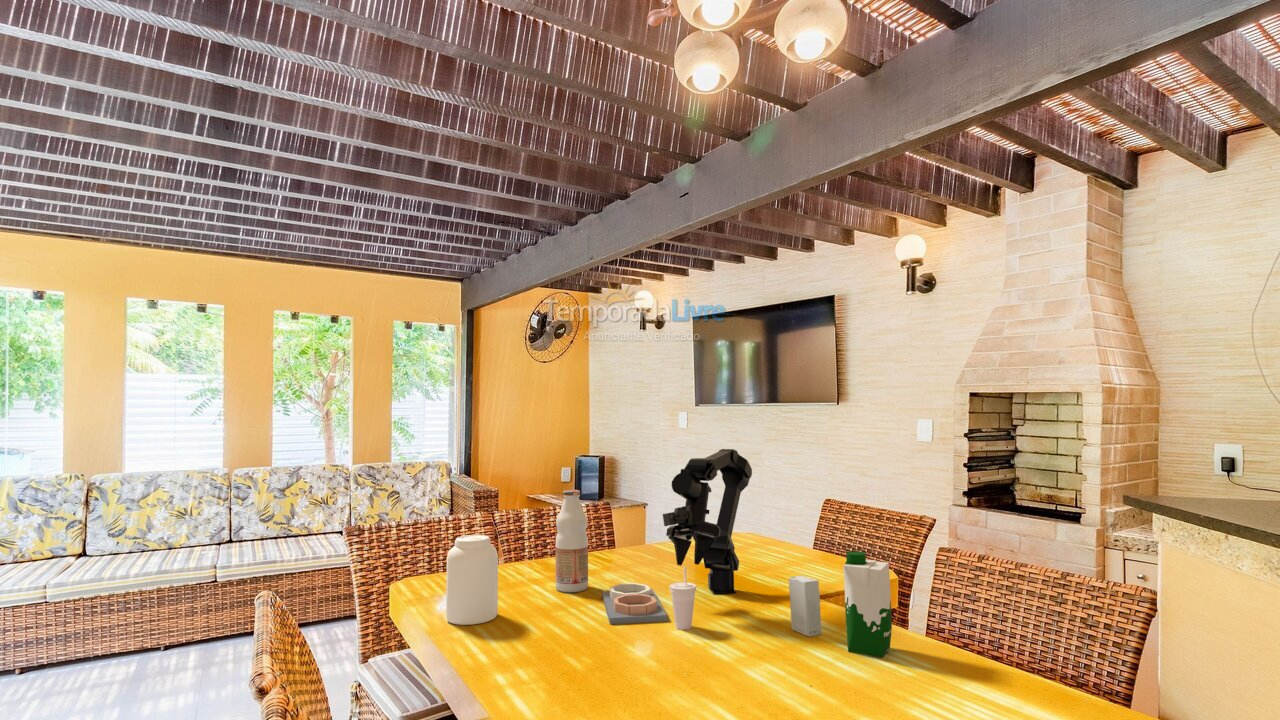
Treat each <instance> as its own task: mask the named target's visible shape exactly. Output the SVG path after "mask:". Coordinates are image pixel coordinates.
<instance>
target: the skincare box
mask: <svg viewBox="0 0 1280 720" xmlns="http://www.w3.org/2000/svg"><path fill="white" fill-rule="evenodd" d="M819 583H820V582H819V580H818V579H815V578H812V577H808V576H804V575H796V576H795V575H794V576H789V577H788V589H789V604H790V606H789V607H790V621H791V630H793V631H795V632H796V633H799V634H801V635H804V636H806V637H817V636H820V635H822V633H823V631H822V615H821V600H820V598H821V597H820V586H819Z"/></svg>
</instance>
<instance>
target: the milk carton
mask: <svg viewBox="0 0 1280 720" xmlns="http://www.w3.org/2000/svg"><path fill="white" fill-rule="evenodd" d="M845 555H846V556H845V557H846V561H845V563H844V564H843V566H842V567H843V568H842V569H843V580H844V581H843V582H844V603H845V604H844V605H845V627H846V628H845V629H846V640H847V652H849V653H855V654H859V655H863V656H870V657H875V658H882V659H883V658H884V657H885V655H886V654H887V653H888V651H889V650H890V648H891V639H892V633H893V632H892V630H893V629H892V628H893V625H892V623H893V620H892V619H893V618H892V597H891V596H892V593H891V578H890V577H891V576H890V569H889V568H890V567H889V566H890V565H889V562H885V561H877V560H875V559H874V560H873V559H867V554H866V552H863V551H860V550H849V551H846V554H845Z"/></svg>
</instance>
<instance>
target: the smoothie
mask: <svg viewBox="0 0 1280 720" xmlns="http://www.w3.org/2000/svg"><path fill="white" fill-rule="evenodd" d="M668 590H669V591H670V592H671V593H670V594H671V600H672V610H673V616H674V623H675V628H676V629H677V630H681V631H685V630H688V631H689V630H691V629H692V626H693V625H692V624H693V616H694V606H695V596H696V591H697V584H695V583H692V582H687V567H686V566H683V581H681V582H678V581H677V582H674V583H673V582H672V583H670V585H669V589H668Z"/></svg>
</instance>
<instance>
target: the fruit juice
mask: <svg viewBox="0 0 1280 720" xmlns="http://www.w3.org/2000/svg"><path fill="white" fill-rule="evenodd" d="M580 491H581V490H579V489H567V490H563V493H562V495H563V498H564V499H563V502H562V504H561V508H560V511H559V513H558V515H557V517H556V520H555V525H556V530H557V534H556V537H555V588H556V590H557V591H559V592H561V593H577V592H583V591H586V590H587V589H588V586H589V539H588V534H587V527H588V518H587V514H585V511H584V509H583V506H582V503H581V500H580V496H581V492H580Z"/></svg>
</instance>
